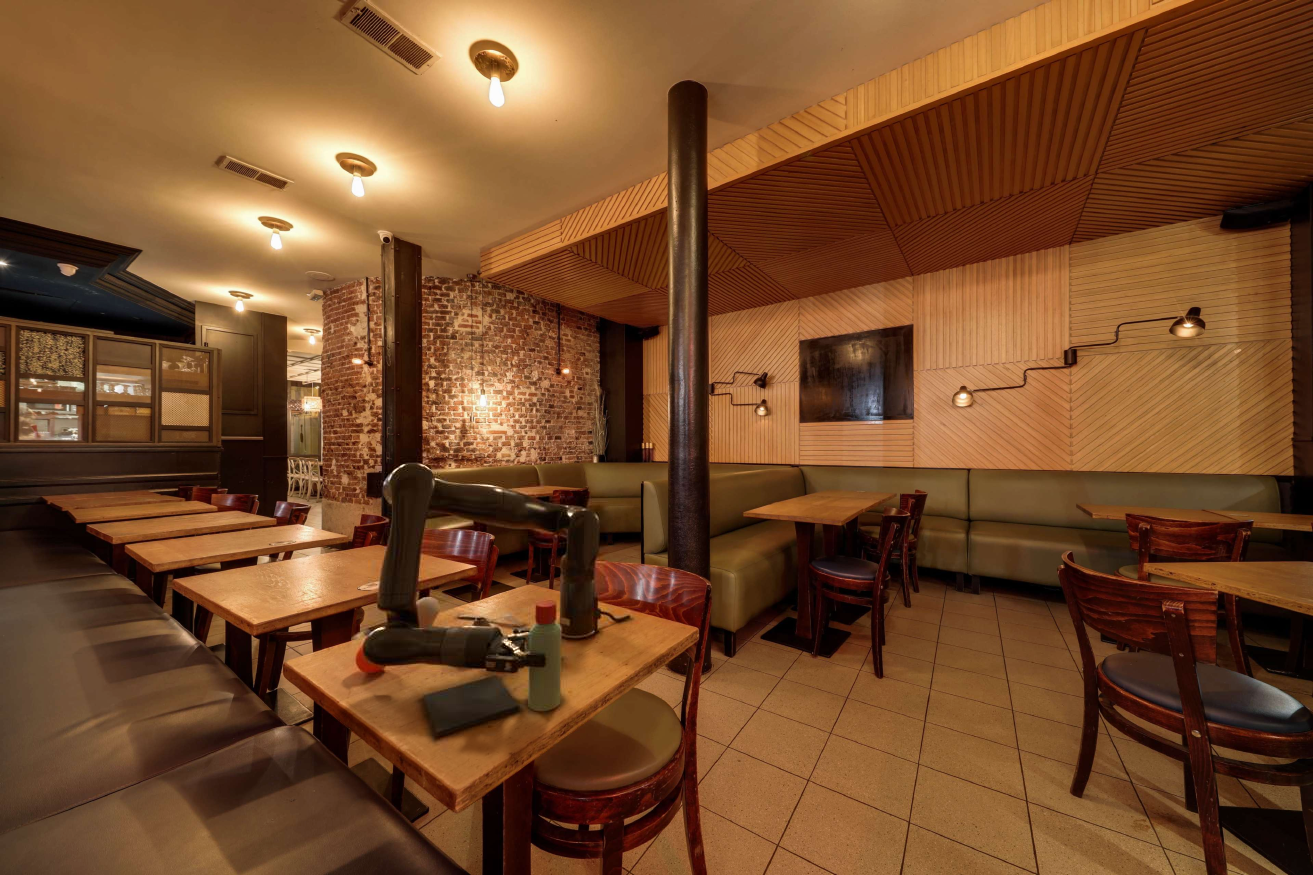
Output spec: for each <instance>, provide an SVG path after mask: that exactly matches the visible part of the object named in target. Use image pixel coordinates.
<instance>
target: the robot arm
mask: <svg viewBox="0 0 1313 875" xmlns="http://www.w3.org/2000/svg"><path fill="white" fill-rule="evenodd" d="M382 494H383V497H384V498H385V500H386V501H387V502H388V503H389V504H390V505H391V525H390V532H389V536H388V540H387V544H386V545H387V546H386V549H385V553H384V557H383V561H382V565H381V570H380V575H379V583H378V590H377V598H376V599H377V600H376V607H377V609H378V610H379V611H381V612H384V613H386V614H385V615H386V622H387V624H386V625H384V626H380V627H378V628H375V629H373V630H372V631H371V632H369V634H368V635H367V636H366V638H365V639H364V641H363V643H362V645H363V655H364V657H365V658H366V660H367V661H368V662H370V663H371V664H374V665H377V666H386V667H400V666H411V665H428V666H447V667H451V668H457V669H475V670H485V671H486V672H488V673H489V672H491V673H503V674H517V673H518V671H519V670H524V669H525V668H529V667H545V665H546V654H540V653H529V638H530V629H531V627H529V628H527V627H515V628H513V629H512V633H510V634H507V635H506V634H505V635H504V634H503V633H502V631H501V630H502V629H500V627H498V626H492V627H486V626H472V625H459V626H458V625H455V626H451V625H450V626H448V625H433V626H430V627H425V628H420V624H419V616H418V609H417V604H416V603H417V597H418V590H419V589H418V588H419V579H420V567H421V558H422V557H421V556H422V548H423V539H424V533H425V528H426V522H427V518H428V514H429V512H435V513H442V514H448V515H451V516H454V517H457V518H461V519H465V520H469V521H472V522H477V523H481V524H484V525H489V526H494V527H498V528H499V527H500V528H506V529H512V530H513V529H515V530H538V531H543V532H547V533H551V534H554V535H557V536H559V537H561V538H564V539H566V540H567V542H566V553H565V554H564V555H562V557H561V558H560V578H559V579H560V582H559V584H560V585H559V586H560V587H559V623H558V624H559V625H560V626H561V628H562V629H561V638H565V639H570V640H579V639H585V638H589V637H591V636H593V635H594V634H595V633H598V632H599V629H598V627H599V620H601V619H602V616H607V617H609V618H610V619H611V620H612V621H614V622H617V623H619V622H620V623H621V622H623V621H626V620H628V619H631V615H630V614H628V615H625V616H623V617H619V618H618V617H617V618H616V617H615V616H614V615H613V614H612V613H611V612H608V611H604V610H602V609H601V608H600V607H599V596H598V595H597V594H596V563H597V559H598V557H599V553H600V552H599V551H600V538H601V537H600V535H601V524H600V523H601V522H600V519H599V516H598V514H597V513H596V512H595V511H594V510H592V509H590V508H587V507H583V506H579V505H569V504H568V505H567V504H559V503H553V502H546V501H543V500H540V499H538V498H536V497H533V496H532V495H529V494H526V493H523V492H520V491H517V490H515V489H514V490H513V489H511V488H504V487H501V486H495V485H490V484H489V485H488V484H476V483H474V484H473V483H457V482H451V481H447V480H443V479H440V478H437V477H435V474H434V473H433V471H432V470H431V469H430V467H427V466H426V465H424V464H422V463H420V462H407V463H405V464H401V465H400V466H398V467H396V468H395V469H394V470H392V472H390V474H389V475H388V476H387V477H386V478H385V479H384V481H383V484H382ZM507 665H508V666H507Z"/></svg>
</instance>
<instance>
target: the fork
mask: <svg viewBox="0 0 1313 875" xmlns="http://www.w3.org/2000/svg"><path fill="white" fill-rule="evenodd" d="M479 617H485V618H486V620H490V621H492V620H493V621H494V620H498V619H504V620H507V621H509V622H511V623H513V624H514V625H516V626H517V627H518V628H521V627H523V626H525V623H523V622H522V621H521V620H519V619H518V618H516V617H515V616H514V615H512V614H509V613H507V614H502V615H501V616H499V617H488V616H483V615H478V614H474V613H463V614H461V615H459V616H458V618H470V619H471V618H473V619H476V618H479Z"/></svg>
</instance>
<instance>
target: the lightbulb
mask: <svg viewBox="0 0 1313 875" xmlns="http://www.w3.org/2000/svg"><path fill="white" fill-rule="evenodd" d="M416 604H417V609H418V616H419V624H420V628H425V627H430V626H434V624H435V621H436V619H437V618H438V615H439V613H440V610H441V607H440V603H439V602H438V600H437V599H436V598H434V597H430V596H426V597H422V598H420V599H418V600H416Z"/></svg>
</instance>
